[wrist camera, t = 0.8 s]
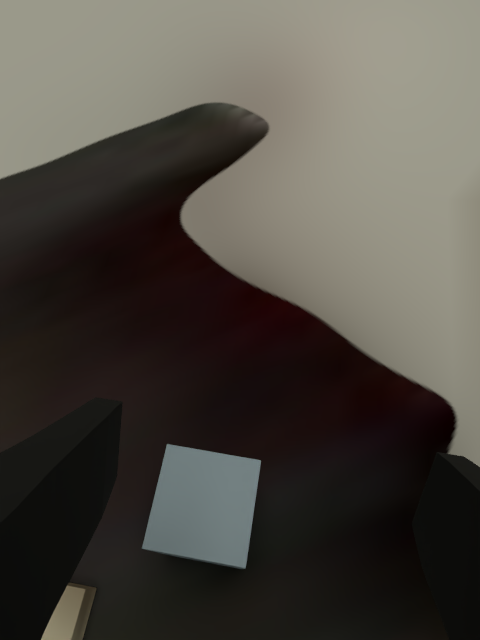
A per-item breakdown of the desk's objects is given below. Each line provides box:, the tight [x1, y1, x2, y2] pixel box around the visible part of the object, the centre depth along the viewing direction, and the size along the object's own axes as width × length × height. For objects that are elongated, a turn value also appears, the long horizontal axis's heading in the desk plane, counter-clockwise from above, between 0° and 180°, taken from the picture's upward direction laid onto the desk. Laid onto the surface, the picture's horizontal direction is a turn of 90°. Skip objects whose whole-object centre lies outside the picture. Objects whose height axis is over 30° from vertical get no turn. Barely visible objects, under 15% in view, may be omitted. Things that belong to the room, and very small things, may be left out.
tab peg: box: [142, 444, 261, 569], centre depth 21 cm, size 4×4×7 cm
